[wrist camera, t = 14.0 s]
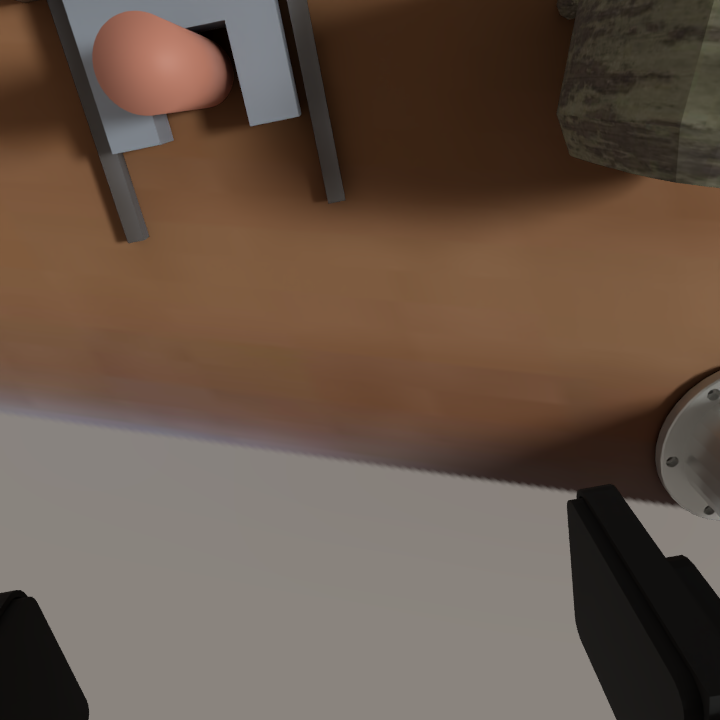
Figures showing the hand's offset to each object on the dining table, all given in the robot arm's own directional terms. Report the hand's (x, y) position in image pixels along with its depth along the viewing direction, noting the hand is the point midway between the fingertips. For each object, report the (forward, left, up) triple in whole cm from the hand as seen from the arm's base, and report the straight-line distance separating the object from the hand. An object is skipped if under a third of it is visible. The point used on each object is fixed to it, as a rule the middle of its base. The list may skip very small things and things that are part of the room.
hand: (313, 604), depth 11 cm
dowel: (+5, -10, -30) cm, 32 cm away
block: (+5, -11, -30) cm, 33 cm away
